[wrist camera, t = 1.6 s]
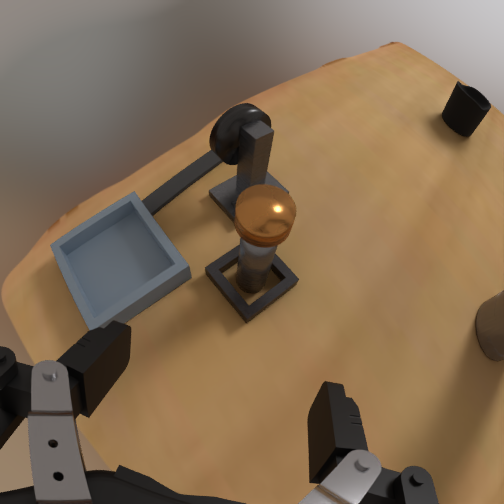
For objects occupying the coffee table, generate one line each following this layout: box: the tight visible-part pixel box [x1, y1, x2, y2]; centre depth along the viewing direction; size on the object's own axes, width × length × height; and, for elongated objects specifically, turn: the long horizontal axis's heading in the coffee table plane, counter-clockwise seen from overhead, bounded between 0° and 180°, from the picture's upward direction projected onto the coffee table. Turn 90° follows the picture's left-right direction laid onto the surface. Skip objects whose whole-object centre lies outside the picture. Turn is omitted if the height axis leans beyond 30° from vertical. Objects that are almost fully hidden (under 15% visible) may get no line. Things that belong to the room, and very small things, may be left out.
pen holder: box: [442, 81, 491, 137], centre depth 52 cm, size 9×9×10 cm
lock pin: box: [235, 184, 296, 293], centre depth 28 cm, size 4×4×13 cm
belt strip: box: [142, 150, 223, 216], centre depth 39 cm, size 14×2×1 cm, turn 139°
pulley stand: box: [209, 103, 289, 223], centre depth 34 cm, size 8×7×12 cm
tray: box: [50, 191, 192, 330], centre depth 32 cm, size 12×12×3 cm
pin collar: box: [205, 245, 299, 323], centre depth 33 cm, size 7×7×2 cm
